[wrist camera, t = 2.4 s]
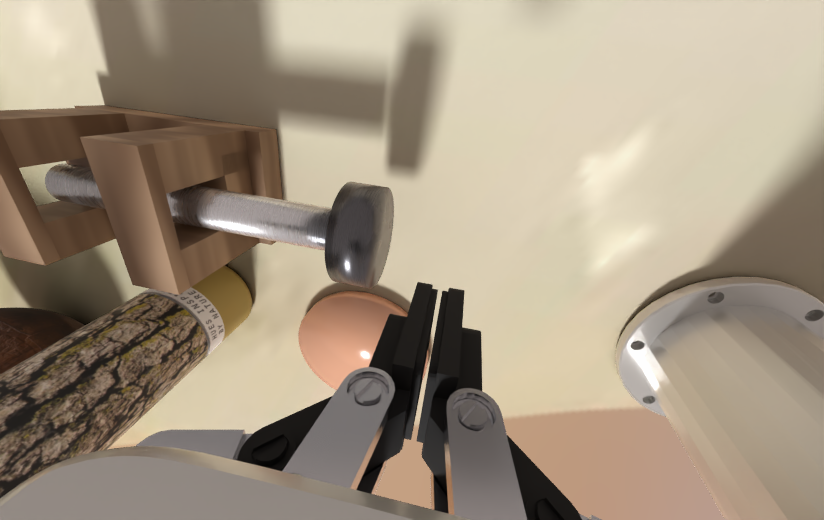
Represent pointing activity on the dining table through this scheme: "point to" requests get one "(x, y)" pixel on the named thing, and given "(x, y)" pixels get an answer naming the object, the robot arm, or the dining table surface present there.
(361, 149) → the dining table surface
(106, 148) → the bearing housing
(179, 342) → the paper tube
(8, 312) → the wooden sphere
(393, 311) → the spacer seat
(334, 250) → the shaft
